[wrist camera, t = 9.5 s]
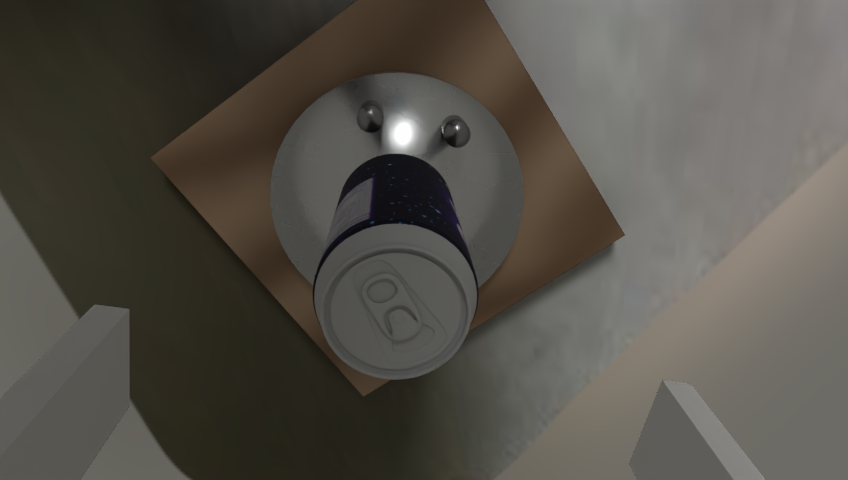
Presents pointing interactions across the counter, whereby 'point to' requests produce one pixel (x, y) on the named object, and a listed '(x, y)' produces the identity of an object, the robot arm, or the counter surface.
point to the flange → (397, 134)
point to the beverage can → (395, 271)
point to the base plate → (372, 53)
